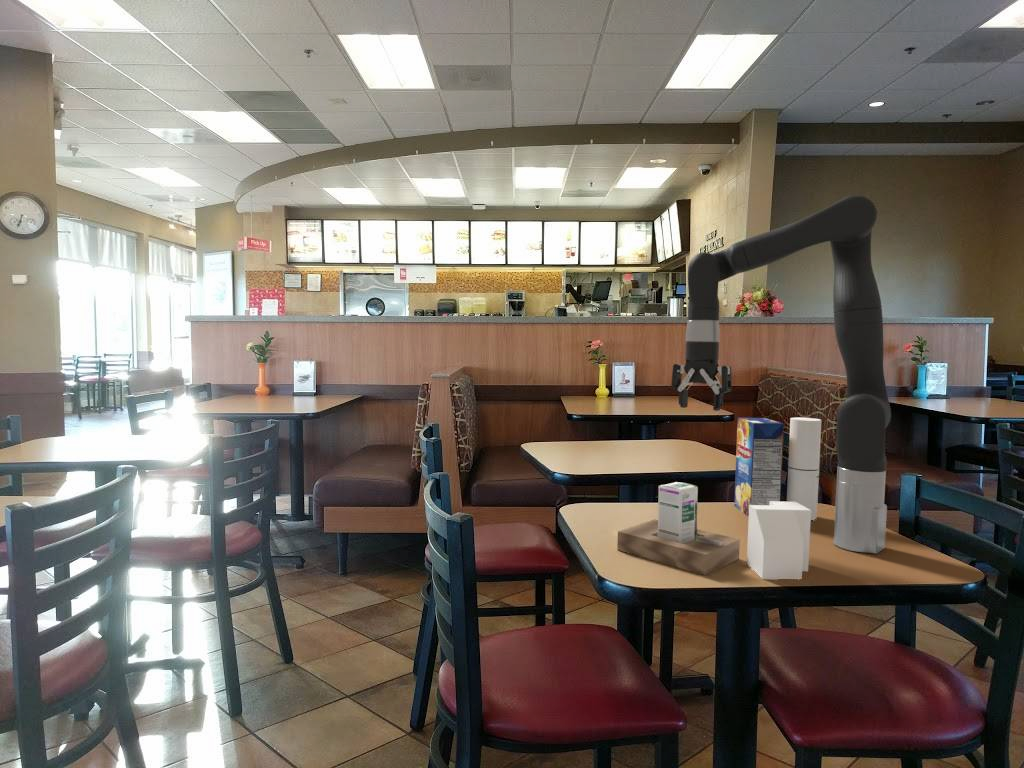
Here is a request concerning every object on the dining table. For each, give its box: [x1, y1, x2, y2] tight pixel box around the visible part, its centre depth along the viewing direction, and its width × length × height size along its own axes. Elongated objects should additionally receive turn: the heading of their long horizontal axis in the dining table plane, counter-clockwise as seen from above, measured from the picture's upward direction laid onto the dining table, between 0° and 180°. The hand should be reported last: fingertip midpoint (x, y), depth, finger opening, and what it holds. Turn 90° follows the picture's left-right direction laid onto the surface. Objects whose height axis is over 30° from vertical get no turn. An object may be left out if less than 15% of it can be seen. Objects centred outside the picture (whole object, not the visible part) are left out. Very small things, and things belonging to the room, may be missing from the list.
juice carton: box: [733, 417, 785, 518], centre depth 169 cm, size 12×8×24 cm, turn 0°
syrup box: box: [657, 481, 699, 544], centre depth 134 cm, size 6×6×14 cm
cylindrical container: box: [786, 417, 822, 521], centre depth 165 cm, size 7×7×25 cm
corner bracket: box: [746, 500, 812, 581], centre depth 126 cm, size 11×11×12 cm
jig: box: [616, 519, 741, 576], centre depth 134 cm, size 20×14×5 cm
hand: (699, 408), depth 154 cm, fingers open, 8 cm apart
